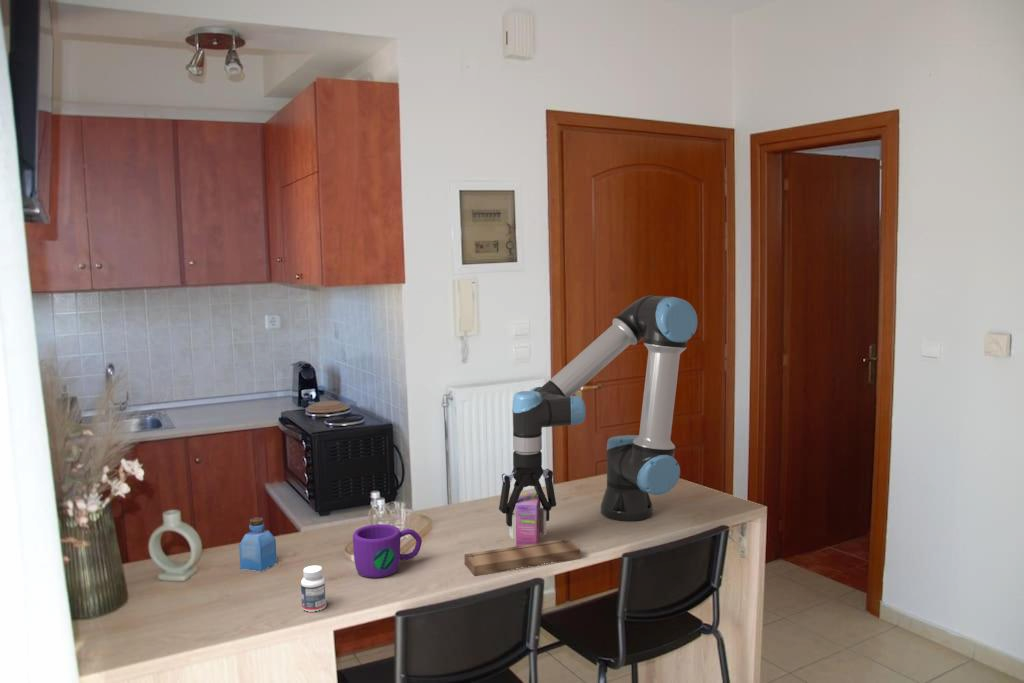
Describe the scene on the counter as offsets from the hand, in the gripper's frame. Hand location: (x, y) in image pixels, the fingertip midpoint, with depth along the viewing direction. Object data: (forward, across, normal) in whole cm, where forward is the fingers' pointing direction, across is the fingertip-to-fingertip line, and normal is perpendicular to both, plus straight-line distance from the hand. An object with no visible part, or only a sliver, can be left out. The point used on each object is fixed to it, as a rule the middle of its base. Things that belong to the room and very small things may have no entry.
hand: (527, 535), depth 210 cm
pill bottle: (+3, +57, +16) cm, 60 cm away
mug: (+3, +37, +1) cm, 37 cm away
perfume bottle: (+3, +67, -13) cm, 69 cm away
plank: (+3, +5, +10) cm, 11 cm away
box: (+2, 0, -1) cm, 2 cm away
